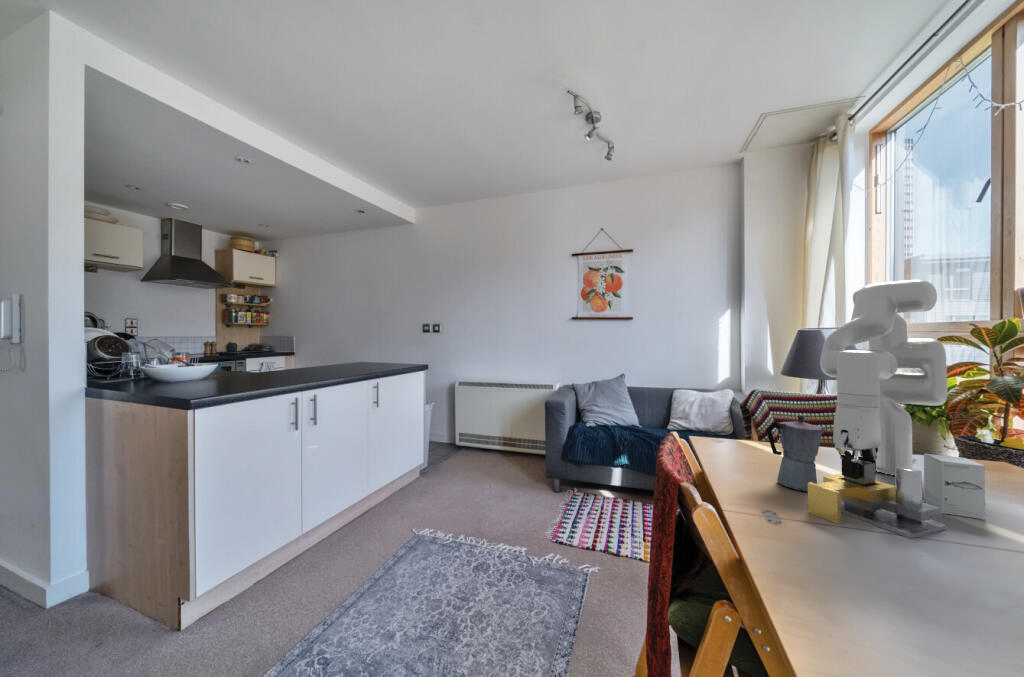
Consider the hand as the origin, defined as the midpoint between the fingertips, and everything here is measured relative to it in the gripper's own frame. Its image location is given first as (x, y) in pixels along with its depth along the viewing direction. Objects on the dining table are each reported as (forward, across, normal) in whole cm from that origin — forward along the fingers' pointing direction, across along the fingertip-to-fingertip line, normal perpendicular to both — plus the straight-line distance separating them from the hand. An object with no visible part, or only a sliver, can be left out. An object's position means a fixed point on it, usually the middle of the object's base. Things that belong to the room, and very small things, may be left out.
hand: (858, 475), depth 87 cm
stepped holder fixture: (+8, +3, +3) cm, 10 cm away
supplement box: (+9, -22, +7) cm, 25 cm away
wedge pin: (+8, 0, 0) cm, 8 cm away
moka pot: (+9, -1, -15) cm, 17 cm away
